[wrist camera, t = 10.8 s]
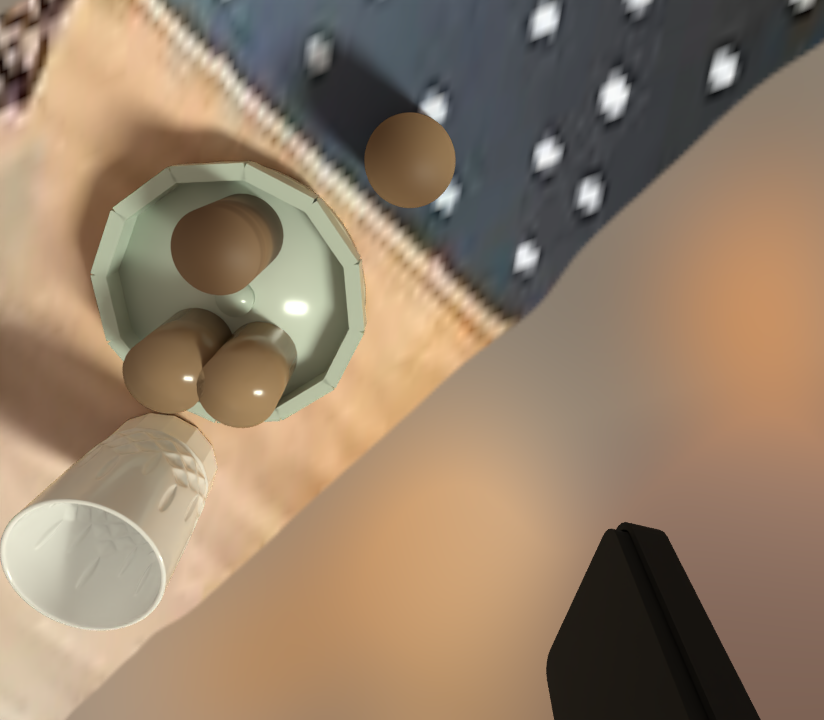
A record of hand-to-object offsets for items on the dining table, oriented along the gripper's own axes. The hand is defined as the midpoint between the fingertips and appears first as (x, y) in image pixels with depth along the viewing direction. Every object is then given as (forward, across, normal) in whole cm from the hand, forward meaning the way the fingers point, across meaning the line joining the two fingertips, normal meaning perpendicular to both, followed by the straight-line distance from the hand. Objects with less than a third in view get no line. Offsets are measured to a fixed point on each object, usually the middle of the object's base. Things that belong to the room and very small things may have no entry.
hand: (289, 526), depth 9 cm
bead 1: (+24, +8, +2) cm, 26 cm away
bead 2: (+26, 0, -3) cm, 26 cm away
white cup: (+25, +11, +18) cm, 33 cm away
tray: (+25, +8, +6) cm, 27 cm away
